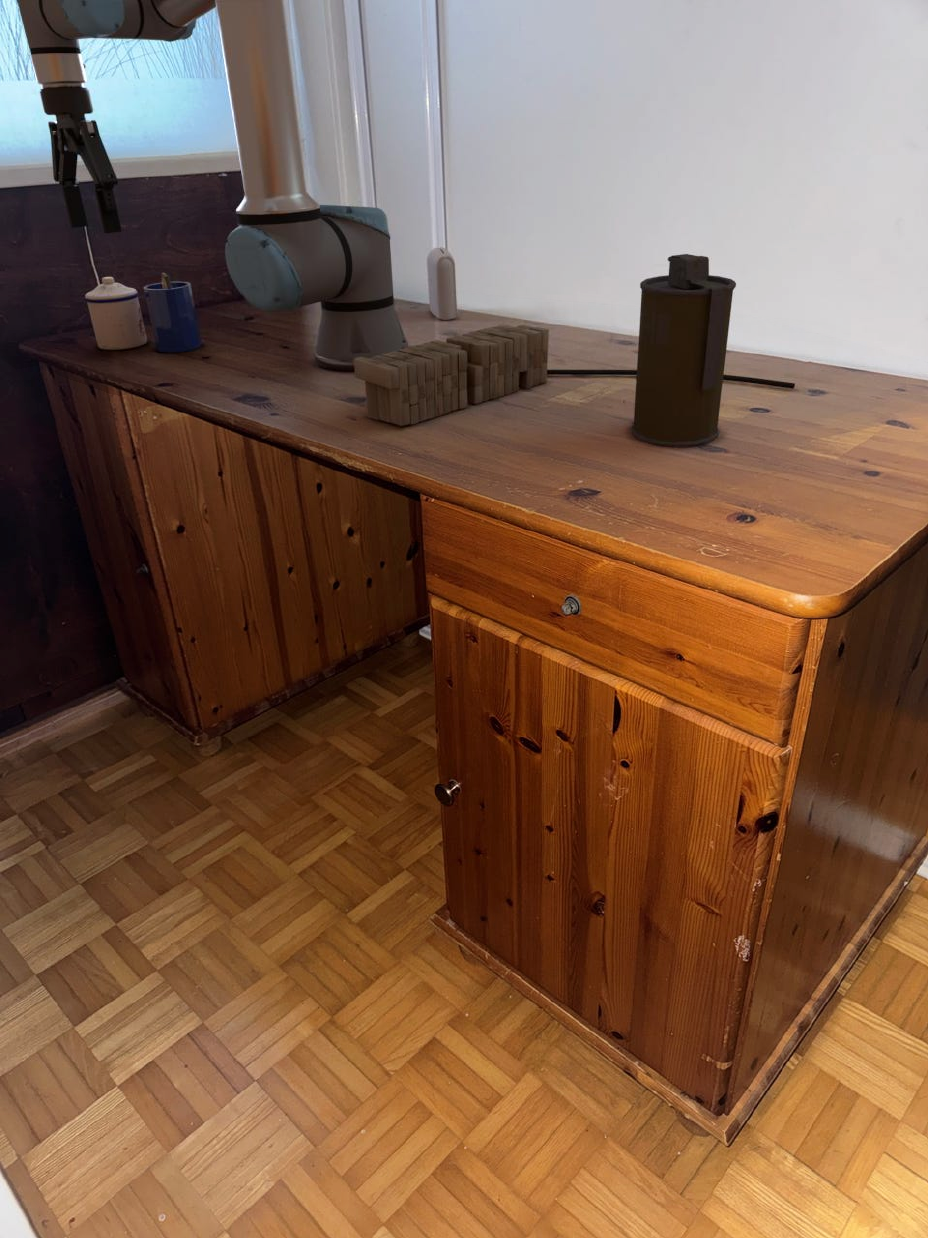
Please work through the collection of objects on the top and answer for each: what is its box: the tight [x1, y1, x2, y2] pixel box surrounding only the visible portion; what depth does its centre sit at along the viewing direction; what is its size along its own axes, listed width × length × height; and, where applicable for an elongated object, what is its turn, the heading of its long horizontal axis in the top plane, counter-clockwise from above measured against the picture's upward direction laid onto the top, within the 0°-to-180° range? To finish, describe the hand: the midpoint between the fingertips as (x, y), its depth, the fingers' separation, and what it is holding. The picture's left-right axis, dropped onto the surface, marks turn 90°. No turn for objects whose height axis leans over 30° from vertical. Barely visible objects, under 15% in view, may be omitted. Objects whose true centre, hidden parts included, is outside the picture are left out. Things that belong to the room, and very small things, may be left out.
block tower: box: [354, 323, 550, 427], centre depth 119 cm, size 8×8×29 cm
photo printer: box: [426, 246, 458, 321], centre depth 168 cm, size 10×4×12 cm, turn 13°
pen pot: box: [143, 281, 202, 354], centre depth 153 cm, size 8×8×10 cm
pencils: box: [161, 272, 172, 289], centre depth 153 cm, size 2×3×12 cm
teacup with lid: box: [84, 276, 148, 351], centre depth 157 cm, size 12×9×12 cm
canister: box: [630, 253, 737, 448], centre depth 101 cm, size 11×10×20 cm
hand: (95, 229), depth 151 cm, fingers open, 13 cm apart
